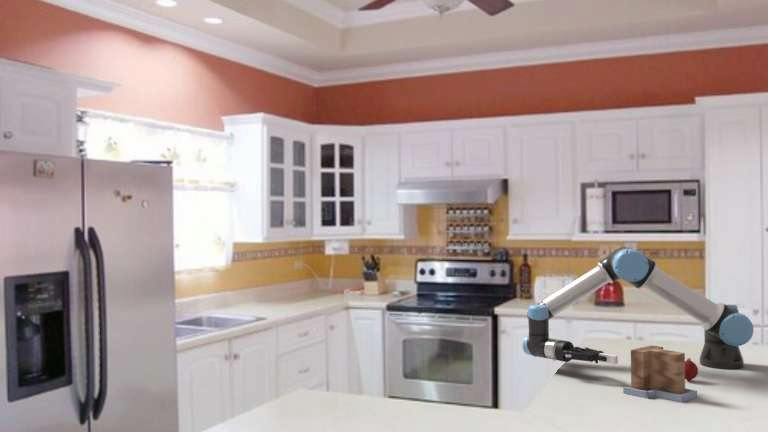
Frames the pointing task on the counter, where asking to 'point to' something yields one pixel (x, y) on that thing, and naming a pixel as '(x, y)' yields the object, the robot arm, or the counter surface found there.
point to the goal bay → (661, 394)
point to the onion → (690, 370)
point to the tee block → (658, 369)
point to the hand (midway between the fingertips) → (616, 359)
